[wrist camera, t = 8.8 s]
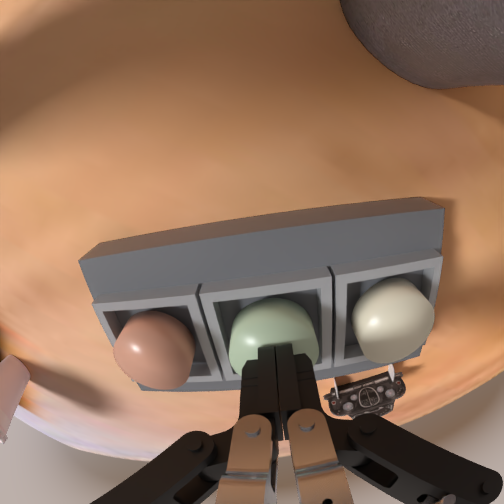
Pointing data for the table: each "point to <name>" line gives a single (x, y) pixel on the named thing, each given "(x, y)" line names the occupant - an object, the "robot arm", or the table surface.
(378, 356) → the cream button
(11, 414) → the smoothie
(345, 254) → the console
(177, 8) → the table surface
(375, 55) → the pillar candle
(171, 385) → the terracotta button
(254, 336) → the sage button
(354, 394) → the dashboard
